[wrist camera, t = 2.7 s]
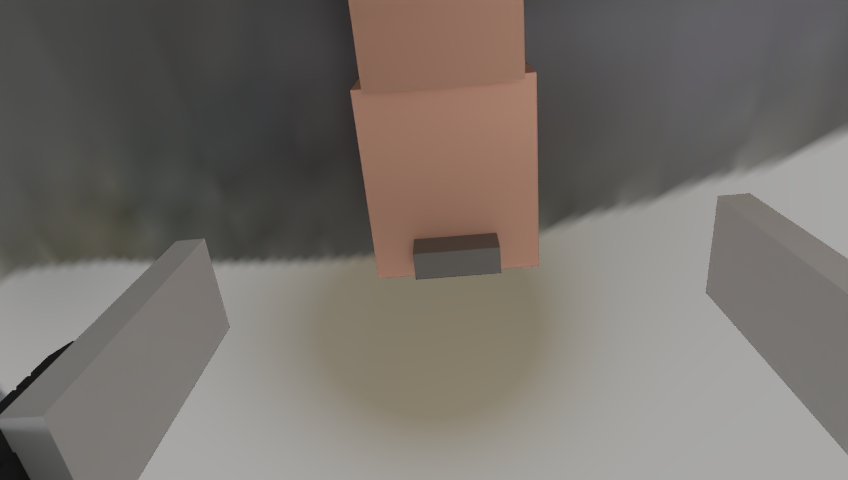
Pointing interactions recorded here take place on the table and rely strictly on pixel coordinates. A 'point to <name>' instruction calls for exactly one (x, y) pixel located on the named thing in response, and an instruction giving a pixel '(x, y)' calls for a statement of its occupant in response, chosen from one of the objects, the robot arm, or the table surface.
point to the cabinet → (446, 135)
